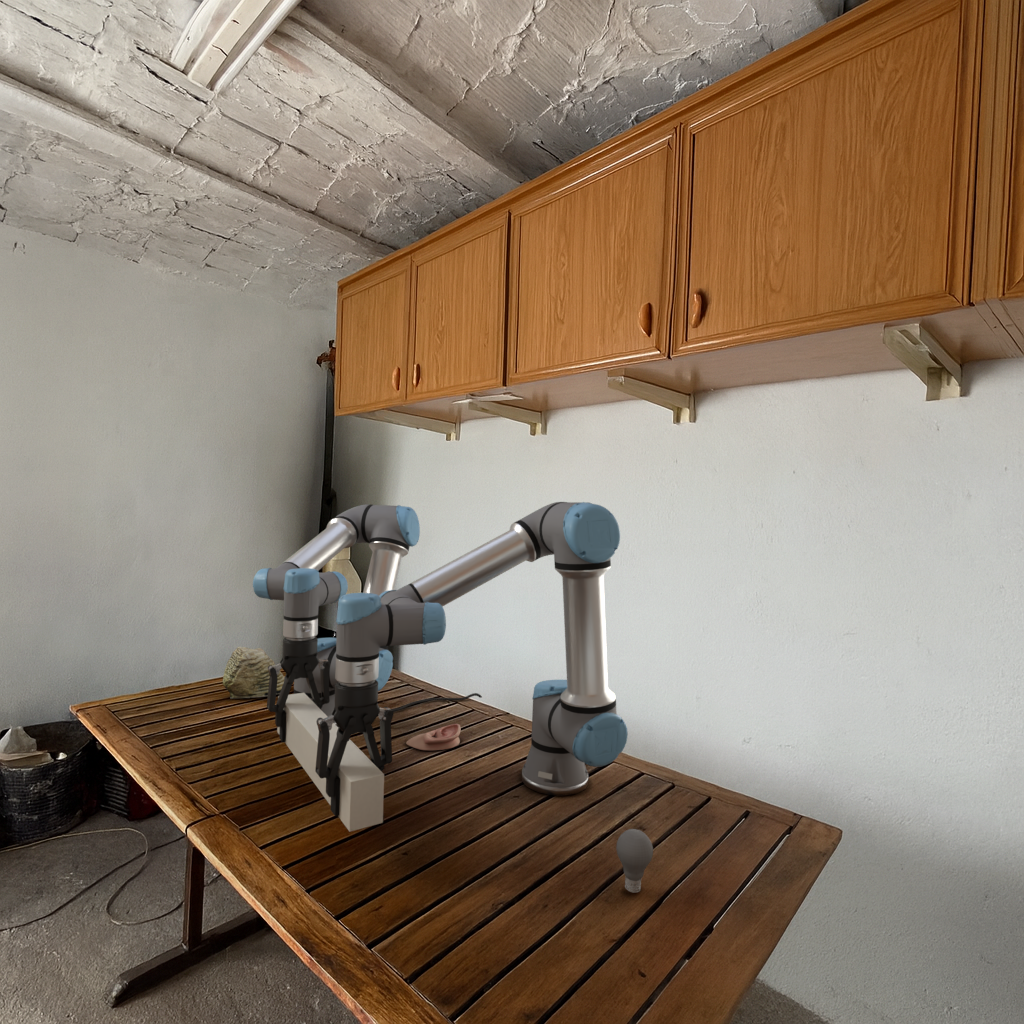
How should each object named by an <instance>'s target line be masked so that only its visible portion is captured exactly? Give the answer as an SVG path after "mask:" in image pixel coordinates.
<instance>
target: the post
mask: <svg viewBox="0 0 1024 1024" xmlns="http://www.w3.org/2000/svg"><path fill="white" fill-rule="evenodd" d="M278 698H279V695H278V696H277V699H278ZM283 710H284V711H285V712H286V742H284V744H285V745H286V747H288V748H287V749H289V751H290V752H291V753H292V754H293V756H294V758H295V759H296V760H297V762H298V763H299V764H300V766H301V767H302V768H303V770H304V771H305V772H306V774H307V775H308V776H309V778H310V779H311V781H312V782H313V783H314V785H315V786H316V788H317V789H318V791H320V793H321V795H322V796H323V798H324V799H325V800H326V802H327V803H328V805H329V806H330V807H331V797H329V796H328V795H327V793H326V778H320V777H319V776H318V774H317V773H316V772H315V768H316V757H317V747H318V736H319V730H318V726H317V722H316V721H317V719H318V718H323V719H324V718H326V717H327V716H326V714H325V713H324V712H323V711H322V710H321V709H320V708H319V707H318V706H317V705H316V704H315V703H314V702H313V701H312V700H311V699H310V698H309V697H308V696H307V695H306V694H305V693H297V694H294V693H292V694H290V693H289V695H288V698H287V701H286V704H285V707H284V709H283ZM338 727H339V726H336V725H335V724H334V723H333V724H332V728H331V730H329V732H330V740H329V751H328V761H327V765H328V762H329V759H330V756H331V752H332V749H333V746H334V743H335V740H336V737H337V730H338ZM276 732H277V734H278V735H279V734H280V727H277V726H276ZM337 776H338V777H339V778H340V811H339V816H337V817H338V818H339V820H340V821H341V822H342V825H344V827H345V828H346V829H347V830H348V832H349V833H350V832H354V831H358V830H362V829H365V828H368V827H372V826H376V825H379V824H383V823H384V800H385V799H384V795H385V773H383V771H382V772H381V771H380V770H379V769H378V768H377V767H376V765H375V764H374V763H373V762H372V761H371V758H370V757H368V756H367V755H366V754H365V753H364V752H363V751H362V750H361V749H360V748H359V746H357V745H356V743H354V742H353V741H352V740H351V738H350V739H349V741H348V742H347V745H346V748H345V751H344V754H343V757H342V760H341V763H340V766H339V770H338V773H337Z"/></svg>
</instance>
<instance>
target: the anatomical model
mask: <svg viewBox="0 0 1024 1024" xmlns="http://www.w3.org/2000/svg"><path fill="white" fill-rule="evenodd" d="M461 728H462V727H461V725H460V724H459V723H452V724H448V725H444V726H442V727H439V728H436V729H432V730H430V731H427V732H424V733H420V734H416V735H415V736H412V737H410V738H409V739H408V740H407V741H406V742H405V743H406V745H407V746H409V747H411V748H413V749H417V750H421V751H441V750H449V749H452V748H455V747H458V746H459V744H460V742H461V739H460V737H459V736H460V734H461V732H462V731H461Z"/></svg>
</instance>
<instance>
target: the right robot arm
mask: <svg viewBox="0 0 1024 1024" xmlns="http://www.w3.org/2000/svg"><path fill="white" fill-rule="evenodd" d="M620 543H621V529H620V525H619V522H618V520H617V518H616V516H615V515H614V513H612V512H611V511H610V510H609V509H608V508H606V507H605V506H602V505H600V504H596V503H591V502H585V501H582V502H578V501H577V502H574V501H573V502H571V501H570V502H567V501H556V502H552V503H549V504H546V505H545V506H542V507H540V508H538V509H537V510H534V511H533V512H531V513H529V514H527V515H525V516H524V517H522V518H519V520H516V521H514V522H512V523H511V525H510V526H509V530H507V531H505V532H504V533H502V534H500V535H498V536H496V537H494V538H492V539H490V540H489V541H487V542H485V543H483V544H481V545H480V546H477V547H476V548H474V549H472V550H470V551H468V552H466V553H464V554H463V555H460V556H459V557H457V558H454V559H453V560H451V561H449V562H448V563H445V564H444V565H442V566H440V567H438V568H436V569H435V570H432V571H431V572H429V573H427V574H425V575H423V576H421V577H419V578H417V579H416V580H414V581H412V582H410V583H408V584H406V585H404V586H402V587H400V588H398V589H395V590H388V591H385V592H383V593H381V594H380V595H379V596H378V595H377V594H372V593H363V592H351V593H350V592H349V593H346V595H343V596H342V597H341V598H340V599H339V600H338V601H337V612H336V619H335V622H336V634H335V635H336V637H335V638H336V671H335V679H336V680H337V683H336V684H335V708H334V710H333V712H332V715H331V716H328V717H326V718H324V719H323V718H318V719H317V721H316V722H317V726H318V730H319V736H318V747H317V757H316V768H315V772H316V773H317V774H318V776H319V777H320V778H326V793H327V795H328V796H329V797H331V806H330V811H331V813H332V814H333V816H334V817H338V816H339V811H340V778H339V777H338V776H337V773H338V770H339V766H340V763H341V760H342V757H343V754H344V751H345V748H346V745H347V742H348V741H349V739H350V740H351V736H354V735H355V734H358V733H359V734H363V735H362V736H363V738H364V741H365V744H366V748H367V752H368V755H369V759H370V760H371V761H372V762H373V763H374V764H375V765H376V767H377V768H378V769H379V770H380V771H381V772H382V773H383V771H384V770H385V765H389V764H392V762H393V745H392V743H393V742H392V721H393V717H394V714H395V713H394V712H395V711H394V712H393V711H392V710H391V709H392V708H390V707H388V706H384V707H380V705H379V703H378V700H379V691H378V682H377V680H376V679H377V678H378V672H379V648H380V646H388V647H392V646H393V647H394V646H395V647H396V646H409V645H410V646H411V645H424V646H425V645H427V644H434V643H439V642H441V641H442V640H443V639H444V637H445V634H446V630H447V619H446V612H445V609H444V607H445V606H446V605H449V604H450V603H452V602H454V601H455V600H457V599H459V598H461V597H463V596H464V595H466V594H468V593H470V592H472V591H473V590H476V589H477V588H479V587H480V586H482V585H484V584H486V583H488V582H490V581H492V580H493V579H495V578H497V577H499V576H501V575H503V574H505V573H506V572H508V571H510V570H511V569H513V568H515V567H517V566H518V565H520V564H522V563H524V562H529V563H534V562H535V561H537V560H539V559H541V558H544V557H548V556H553V559H554V560H553V562H554V570H555V571H556V572H557V573H558V574H560V576H561V578H562V601H563V620H564V621H563V622H564V644H565V645H564V647H565V665H566V666H565V667H566V669H565V670H566V671H565V672H566V679H546V680H542V681H539V682H537V683H535V685H534V687H533V694H532V713H531V714H532V716H531V741H530V742H531V743H530V748H529V751H528V753H527V757H526V760H525V763H524V764H523V766H522V768H521V769H522V770H521V781H522V783H523V784H524V785H525V786H526V787H527V788H528V789H530V790H532V791H534V792H537V793H540V794H544V795H549V796H572V795H576V794H579V793H581V792H583V791H585V790H586V789H587V788H588V786H589V772H588V769H587V768H586V765H587V766H590V767H592V768H600V767H605V766H607V765H609V764H611V763H612V762H615V760H616V759H618V757H619V755H620V754H621V753H622V752H624V751H623V750H624V749H625V747H626V746H627V745H626V744H627V742H628V734H629V733H628V732H629V731H628V726H627V723H626V722H625V720H624V719H623V718H622V716H620V714H617V696H616V693H615V692H613V690H612V689H610V688H609V675H608V671H609V670H608V649H607V646H608V645H607V625H606V623H607V622H606V620H607V619H606V599H605V598H606V597H605V596H606V595H605V575H606V573H607V572H609V570H610V569H611V568H612V563H611V561H612V560H611V558H612V557H614V555H615V554H616V551H617V550H618V548H619V547H620ZM377 717H378V719H379V737H380V751H379V746H378V744H377V743H378V742H377V740H376V737H375V731H374V728H373V723H374V722H375V721H376V719H377ZM333 722H335V723H336V724H337V725H338V726H337V727H338V730H337V737H336V740H335V743H334V746H333V749H332V752H331V756H330V759H329V762H328V765H327V761H328V751H329V740H330V732H329V730H331V728H332V724H333Z"/></svg>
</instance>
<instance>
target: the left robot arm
mask: <svg viewBox="0 0 1024 1024" xmlns="http://www.w3.org/2000/svg"><path fill="white" fill-rule="evenodd" d="M420 526H421V525H420V520H419V517H418V514H417V512H416V510H415V509H414V508H412V507H410V506H405V505H400V504H398V505H387V504H371V503H370V504H369V503H365V504H361V505H357V506H354V507H351V508H349V509H347V510H345V511H343V512H341V513H339V514H337V515H336V516H335V517H334V518H332V519H330V520H329V521H328V523H327V525H326V527H325V529H324V530H322V531H321V532H320V533H319V534H317V535H316V536H315V537H313V538H312V539H311V540H310V541H309V542H307V543H305V545H303V546H302V547H301V548H299V549H298V550H296V551H295V552H294V553H293V554H292V555H290V556H289V557H288V558H287V559H285V560H284V561H283V562H281V563H280V564H279V565H278V566H276V567H275V568H272V567H268V568H267V567H266V568H265V567H264V568H261V569H259V570H257V572H256V573H255V574H254V577H253V580H252V588H253V593H254V594H255V595H256V596H257V597H258V598H261V599H267V600H270V601H283V623H282V624H283V625H282V626H283V627H282V629H283V630H282V636H283V639H282V656H281V660H280V662H279V663H277V664H275V665H274V666H272V665H270V666H268V671H269V675H270V678H269V689H268V696H267V699H266V700H267V702H266V708H267V710H268V711H269V712H270V713H275V715H274V724H275V727H276V728H277V727H280V734H278V735H279V740H280V742H281V743H285V742H286V712H285V711H284V710H283V709H284V707H285V704H286V701H287V698H288V695H290V692H291V689H292V686H293V694H297V693H305V694H306V695H307V696H308V697H309V698H310V699H311V700H312V701H313V702H314V703H315V704H316V705H317V706H318V707H319V708H320V709H321V710H322V711H323V712H324V713H325V714H326V716H327V717H328V716H331V715H332V712H333V710H334V708H335V684H336V683H337V680H336V679H335V671H336V637H317V636H318V634H319V608H320V607H322V606H326V605H330V604H334V603H336V602H339V599H340V598H341V597H342V596H343V595H346V594H348V589H349V584H348V580H347V578H346V577H345V575H344V574H342V573H341V572H340V571H335V570H334V571H330V570H328V571H325V572H319V571H320V570H322V568H323V567H325V565H327V564H328V563H329V562H330V561H331V560H333V559H334V558H335V557H336V556H337V555H338V554H339V553H340V552H342V551H343V550H344V549H349V548H352V547H353V546H354V545H356V544H368V548H369V549H370V550H371V553H372V554H371V557H370V561H369V565H368V570H367V574H366V579H365V583H364V587H363V592H362V593H372V594H377V595H378V596H379V595H380V594H381V593H383V592H385V591H388V590H396V587H397V586H396V585H397V583H398V577H399V573H400V568H401V563H402V559H403V558H404V557H406V556H407V555H408V554H409V550H410V547H412V548H413V547H416V546H417V544H418V542H419V541H420V534H421V527H420ZM393 660H394V657H393V653H392V652H391V651H390V650H389V646H380V648H379V672H378V678H377V679H376V680H377V682H378V692H380V691H381V690H382V689H383V688H384V687H385V685H386V684H387V683H388V681H389V679H390V676H391V675H392V670H393V668H394V667H393V666H394V662H393ZM281 670H283V672H284V673H285V676H284V677H285V678H284V683H283V686H282V689H281V692H280V694H278V696H279V698H278V697H277V694H276V691H277V681H278V677H277V675H278V674H279V673H280V672H281ZM472 697H478V698H479V699H480V698H483V696H482V695H481V694H480V693H476V692H474V693H471V694H468V695H466V696H463V697H431V698H423V699H419V700H415V701H411V702H409V703H406V704H404V705H402V706H400V707H396V708H390V709H391V710H392V711H393V712H398V711H402V710H405V709H406V708H408V707H410V706H413V705H418V704H422V703H425V702H426V703H427V702H433V701H456V702H457V701H465V700H467V699H469V698H472ZM276 699H277V701H276ZM333 723H334V724H335V725H336V726H337V727H339V726H338V725H337V724H336V723H335V722H333Z"/></svg>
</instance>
